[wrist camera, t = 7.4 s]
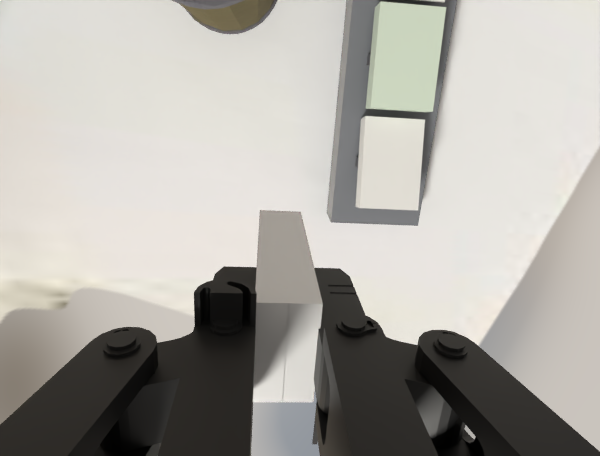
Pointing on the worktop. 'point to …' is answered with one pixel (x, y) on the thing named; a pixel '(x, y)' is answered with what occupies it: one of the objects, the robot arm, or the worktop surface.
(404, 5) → the rocker mid
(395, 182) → the block
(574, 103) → the worktop surface
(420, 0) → the block
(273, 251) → the robot arm
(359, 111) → the rocker switch panel
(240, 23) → the canister
